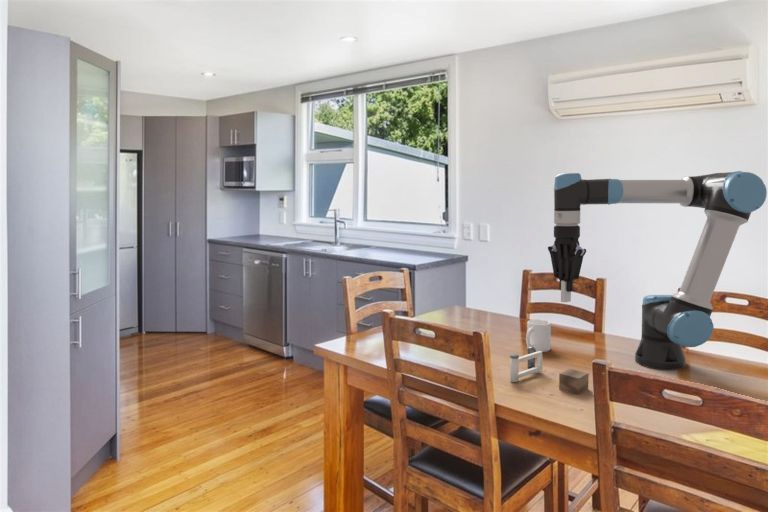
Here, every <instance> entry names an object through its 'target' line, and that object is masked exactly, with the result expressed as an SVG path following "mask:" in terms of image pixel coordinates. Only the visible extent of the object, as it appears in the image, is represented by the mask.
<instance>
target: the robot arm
mask: <svg viewBox="0 0 768 512" xmlns="http://www.w3.org/2000/svg"><path fill="white" fill-rule="evenodd" d="M553 192H554V193H553V198H554V201H553V203H554V207H553V208H554V209H553V210H554V212H553V213H554V214H553V223H554V226H553V237H554V238H555V239H554V242H553V245H551V246H547V250H548V252H549V255H550V260H551V265H552V266H551V267H552V272H553V277H554V278H557V279H558V280H559V286H558V287H559V288H558V289H559V291H560V302H561V303H569V302H571V301H572V292H573V289H574V288H573V285H574V283H573V282H574V281H575V280H578V279H580V273H581V269H582V266H583V265H582V264H583V259H584V257H585V255H586V253H587V249H586V248H583V247H582V246H580V241H579V239H580V236H581V226H580V225H579V224H581V206H584V205H586V206H587V205H614V204H615V205H616V204H678V205H680V207H681V206H682V207H685V208H686V207H689V208H690V207H691V208H692V207H693V208H700V209H703V211H704V214H705V215H706V218H707V219H706V221H705V223H704V226H703V228H702V231H701V234H700V236H699V238H698V242H697V244H696V247H695V249H694V252H693V255H692V257H691V259H690V262H689V265H688V268H687V271H686V272H685V276H684V278H683V281H682V283H681V286H680V289H679V290H678V292H676V293H673V294H648V295H645V296H643V299H642V304H641V338H640V341H639V344H638V346H637V349H636V351H635V355H634V360H635V362H636V363H637V364H638V363H639V364H638V365H640V364H641V365H640V366H643V365H644V366H643V367H646V366H647V367H648V368H650V369H654V370H655V369H656V370H668V371H669V370H670V371H672V370H673V371H674V370H681V369H683V368H685V367H686V365H687V363H686V362H687V360H686V356H685V351H684V349H683V347H684V348H696V347H698V346H702V345H703V344H705V343H706V342H708V340H710V338H711V337H712V336H713V332H714V323H713V319H712V318H711V315H712V313H713V310H714V307H713V306H712V303H711V300H712V296H713V295H714V292H715V289H716V287H717V284H718V282H719V279H720V277H721V274H722V271H723V270H724V266H725V263H726V261H727V258H728V256H729V254H730V251H731V248H732V246H733V243H734V240H735V239H736V236H737V234H738V231H739V229H740V227H741V226H742V225H745V224H747V223H748V222H749V219H750V217H751V214H752V213H753V212H755V211H757V210H758V209H760V208H761V207H762V206H763V205H764V204H765V202H766V199H767V193H768V192H767V186H766V184H764V181H763V179H762V178H761V177H759V176H758V175H757V174H755V173H753V172H750V171H741V170H738V171H731V172H716V173H714V172H713V173H709V174H703V175H702V174H701V175H697V176H695V175H693V176H684V177H682V178H681V179H617V178H598V179H597V178H595V179H582V175H581V173H579V172H578V173H577V172H572V173H571V172H570V173H566V172H565V173H558V174H556V175H555V177H554V185H553Z"/></svg>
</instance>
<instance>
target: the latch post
mask: <svg viewBox="0 0 768 512" xmlns="http://www.w3.org/2000/svg"><path fill="white" fill-rule="evenodd" d="M534 352H536V349H535V348H534V347H529V348H528V347H527V348H526V353H527V355H528V354H531V353H534ZM533 367H536V357H535V358H532V359H529V360H527V369H530V368H533Z"/></svg>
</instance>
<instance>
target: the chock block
mask: <svg viewBox="0 0 768 512" xmlns="http://www.w3.org/2000/svg"><path fill="white" fill-rule="evenodd" d="M589 375H590V373H588V372H585V371H580V370H576V369H572V368H568V369H566V370H564V371H562V372H560V373H559V375H558V376H559V378H558V379H559V381H558V388H559V389H558V390H560V391H563V392H567V393H570V394H574V395H576V396H577V395H578V396H579V395H581V394H582V393H584V392H586V391H588V390H589Z"/></svg>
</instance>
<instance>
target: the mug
mask: <svg viewBox="0 0 768 512" xmlns="http://www.w3.org/2000/svg"><path fill="white" fill-rule="evenodd" d="M526 324H527V327H526V329H527V331H526V333H525V334H526V335H525V343H526V344H525V345H526V346H527V349H528V348H529V347H534V348H535V349H536V352H537V351H542V353H547V352H549V351H550V350H551V345H552V344H551V341H552V340H551V335H552V330H551V329H552V327H551V326H552V322H551V321H549V320H546V319H529V320H528V321H527V322H526Z"/></svg>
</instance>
